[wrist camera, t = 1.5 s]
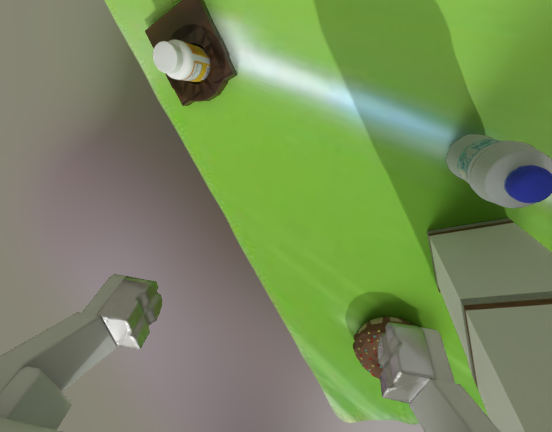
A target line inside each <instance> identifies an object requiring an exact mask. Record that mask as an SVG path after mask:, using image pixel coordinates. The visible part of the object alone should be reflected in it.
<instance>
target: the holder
mask: <svg viewBox="0 0 552 432" xmlns="http://www.w3.org/2000/svg"><path fill="white" fill-rule="evenodd" d="M145 32H146V34H147V36H148V38H149V40H150V42H151V44H152V46H153V48H155V46H156V45H157V44H158V43H159V42H162V41H166V42H168V41H170V40H180V41H183V42H186V43H189V44H192V45H195V46H196V45H201V46H202V47H203V48H204V49H205V50H206V51H207V53H208V55H209V57H210V62H211V68H210V73H209V75H208V77H207V79H206V80H205V81H203V82H202V83H200V84H195V83H193V82H192V81H184V80H177V79H173V78H171V77H169V76H168V75H167V74H166V76H167V78H168V80H169V82H170V84H171V86H172V88H173V89H174V90H175V92H176V93H177V95H178V97H179V99H180V101H181V103H182V105H183V106H188V105H190V104H192V103H193V102H200V101H210V100H212V99H213V98H215V97H217V96H218V95H220V94H221V92H222V91H223V89H224V88H225V86H226V85H227V83H228V80H230V79H232V78H233V77H235V76H236V75H237V73H236V71H235V69H234V66H233V64H232V62H231V60H230V58H229V53H228V51H227V48H226V46H225V44H224V42H223V40H222V39H221V38H220V36H219V34H218V31H217V29H216V27H215V25H214V23H213V21H212V18H211V16H210V14H209V12H208V10H207V7H206V5H205V3H204V1H203V0H182V1H181V2H180V3H179V4H177V5H176V6H175V7H174V8H172V9H171V10H170V11H169V12H167V13H166V14H165V15H164V16H163V17H161V18H160V19H159V20H158V21H156V22H155V23H154V24H153V25H152V26H150V27H149V28H148V29H147V30H145Z"/></svg>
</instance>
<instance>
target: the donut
mask: <svg viewBox="0 0 552 432" xmlns="http://www.w3.org/2000/svg"><path fill="white" fill-rule="evenodd" d="M389 322H393V323H399V324H406V325H412V326H415V325H413V324H411V323H409V322H407V321H405V320H404V319H402V318H394V317H387V316H385V317H380V318H375V319H372V320H370V321H368V322H366V323H365V324H364V325H363V326H362V327H361V328H360V329H359V330H358V331H357V333H356V334H355V335H354V340H355V342H354V344H353V349H354V353H355V355H356V357H357V358H358V360H359V361H360V363H361V364H362V366H363V367H364V368H365V369H366V370H367V371H368V372H370V373H371V375H373V376H374V377H376V378H379V379H380V375H381V373H382V371H383V370H384V369H383V368H382V367H381V365H380V364H379V362H378V342H379V339H380V336H381V335H382V334H384V333H386V330H385V327H386V325H387V323H389Z"/></svg>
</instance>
